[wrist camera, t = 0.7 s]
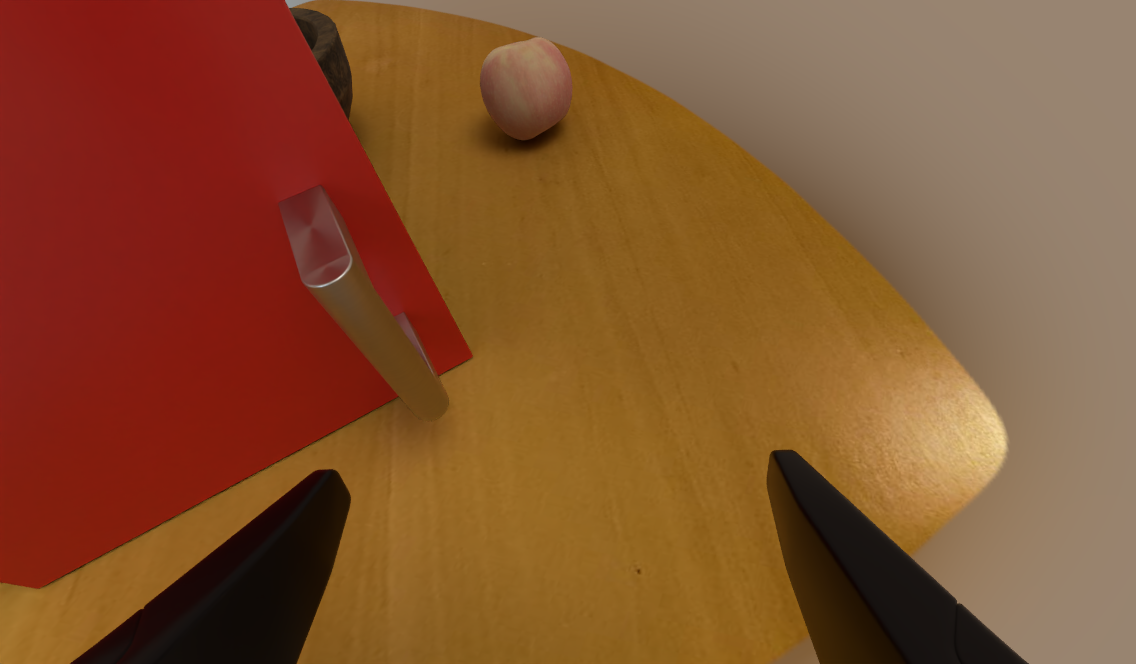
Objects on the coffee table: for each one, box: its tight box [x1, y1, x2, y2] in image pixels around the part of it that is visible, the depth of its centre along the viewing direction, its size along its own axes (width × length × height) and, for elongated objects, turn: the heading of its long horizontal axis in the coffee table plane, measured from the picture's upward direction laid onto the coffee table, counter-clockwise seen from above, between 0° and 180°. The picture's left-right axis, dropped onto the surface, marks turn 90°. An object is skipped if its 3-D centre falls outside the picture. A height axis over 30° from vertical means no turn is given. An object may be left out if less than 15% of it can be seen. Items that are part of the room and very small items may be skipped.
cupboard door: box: [0, 0, 473, 589], centre depth 18 cm, size 7×26×24 cm, turn 120°
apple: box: [480, 37, 572, 140], centre depth 43 cm, size 8×8×8 cm
